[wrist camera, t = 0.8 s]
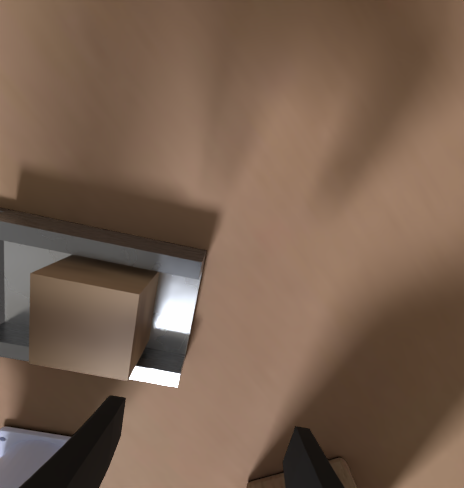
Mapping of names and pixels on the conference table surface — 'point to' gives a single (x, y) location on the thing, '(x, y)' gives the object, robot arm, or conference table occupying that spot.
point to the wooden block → (276, 484)
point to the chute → (106, 249)
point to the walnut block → (90, 316)
